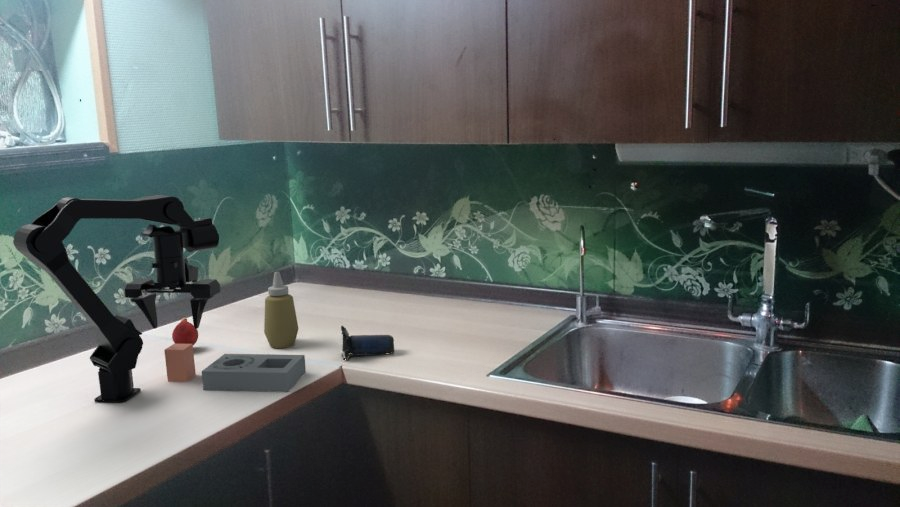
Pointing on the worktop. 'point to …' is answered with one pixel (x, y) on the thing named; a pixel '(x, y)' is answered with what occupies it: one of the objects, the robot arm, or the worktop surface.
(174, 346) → the square peg
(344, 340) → the flanged blue cylinder
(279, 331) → the squeeze bottle
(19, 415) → the worktop surface
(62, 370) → the worktop surface
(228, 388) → the socket block
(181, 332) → the onion
